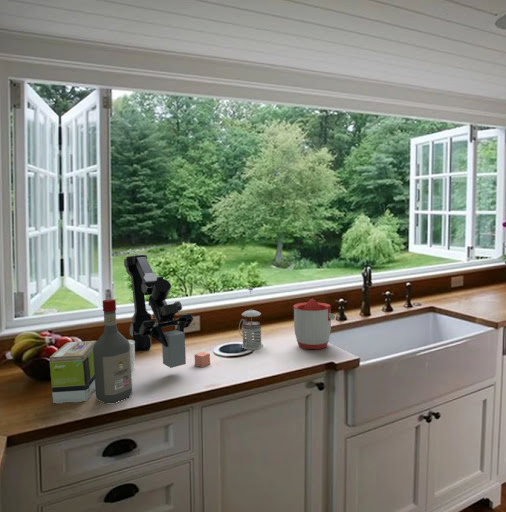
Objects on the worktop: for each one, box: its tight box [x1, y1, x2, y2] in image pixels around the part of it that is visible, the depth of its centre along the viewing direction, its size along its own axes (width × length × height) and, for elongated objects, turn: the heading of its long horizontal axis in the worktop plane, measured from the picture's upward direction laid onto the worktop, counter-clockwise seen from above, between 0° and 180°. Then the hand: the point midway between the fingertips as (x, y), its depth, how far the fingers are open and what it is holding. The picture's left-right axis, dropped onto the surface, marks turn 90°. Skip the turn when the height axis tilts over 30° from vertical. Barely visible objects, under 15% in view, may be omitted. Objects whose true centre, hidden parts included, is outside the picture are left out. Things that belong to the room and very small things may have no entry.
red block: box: [194, 351, 211, 368], centre depth 155 cm, size 4×4×4 cm
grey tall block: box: [161, 329, 187, 369], centre depth 144 cm, size 6×6×11 cm
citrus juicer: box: [292, 298, 337, 350], centre depth 173 cm, size 16×17×20 cm
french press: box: [238, 286, 265, 350], centre depth 174 cm, size 10×12×25 cm
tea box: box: [49, 340, 97, 404], centre depth 131 cm, size 15×10×15 cm, turn 5°
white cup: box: [127, 339, 136, 372], centre depth 151 cm, size 8×8×10 cm
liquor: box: [93, 298, 133, 404], centre depth 126 cm, size 9×9×30 cm
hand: (175, 344), depth 143 cm, fingers closed on grey tall block, 6 cm apart
